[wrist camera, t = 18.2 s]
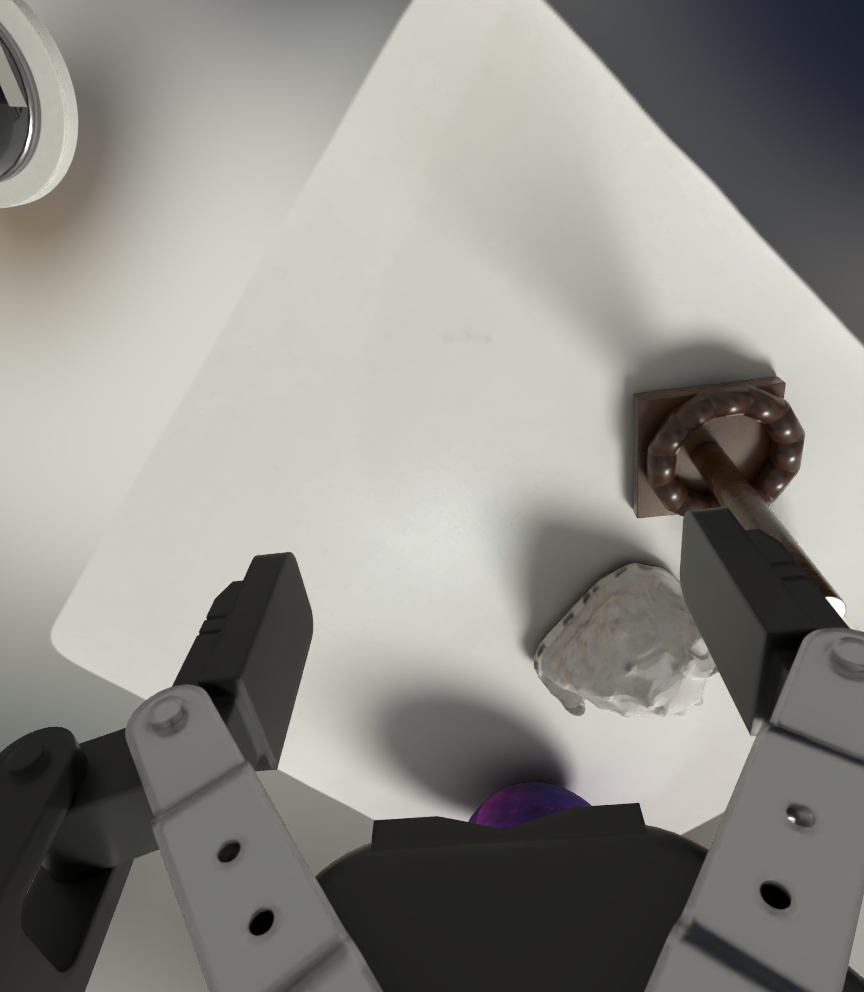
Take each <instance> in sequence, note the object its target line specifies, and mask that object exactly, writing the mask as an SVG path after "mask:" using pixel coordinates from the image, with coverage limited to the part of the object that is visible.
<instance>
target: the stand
mask: <svg viewBox="0 0 864 992" xmlns="http://www.w3.org/2000/svg"><path fill="white" fill-rule="evenodd" d="M740 385H752V386H754V387H757V388H759V389H761V390H764V391H766V392H769V393H771V394H773V395H776V396H778V397H780V398H783V399H784V391H785V382H784V381H782V380H781V379H780V378H779V377H772V378H763V379H755V380H746V381H738V382H730V383H721V384H713V385H704V386H696V387H688V388H679V389H671V390H662V391H654V392H646V393H637V394H634V471H633V510H634V513H635V515H636V517H637V518H645V517H655V516H665V515H676V514H675V513H673V512H670V511H668V510H667V509H666V508H665V507H664V505H663V504H662V503H661V501H660V500H659V498H658V497H657V496H656V494H655V493H654V491H653V490H652V489H651V487H650V486H649V484H648V482H647V450H648V445H649V443H650V442H651V440H652V438H653V437H654V435H655V434H656V432H657V430H658V429H659V427H660V426H661V424H662V423H663V421H664V419H665V418H666V416H667V415H668V414H669V413H670V412H671V411H672V410H674V409H675V408H677V407H679V406H680V405H682V404H683V403H685V402H687V401H688V400H690V399H691V398H693V397H695V396H696V395H698V394H699V393H701V392H703V391H705V390H708V389H715V388H723V387H731V386H740ZM771 443H772V438H771V437H770V435H769V433H768V432H767V430H766V428H765V427H764V425H763V423H761V422H759V421H757V420H754V419H752V418H749V417H747V416H744V415H734V416H725V417H717V418H714V419H712V420H711V421H709V422H707V423H706V424H704V425H703V426H701V427H699V428H698V429H696V430H694V431H693V432H691V433H690V435H689V436H688V438H687V439H686V441H685V442H684V444H683V445H682V447H681V448H680V450H679V451H678V453H677V459H676V475H677V477H678V478H679V479H680V481H681V482H682V484H683V485H684V487H685V488H686V489H687V490H690V491H692V492H695V493H698V494H700V495H703V496H715V497H716V498H717V500H718V501H719V503H720V504H721V506H722V507H728V508H729V509H730V510H731V512H732V513H733V514H734V516H735V517H736V518H737V520H738V521H739V523H740V524H741V525H742V527H743V528H744V529H745V530H750V529H760V530H762V531H763V532H765V533H767V534H768V535H770V536H772V537H773V538H775V539H777V540H778V541H780V542H782V544H783V545H784V546H785V547H786V549H787V550H788V551H789V552H790V554H791V555H792V556H793V557H794V559H795V560H796V564H799V565H800V566H801V567H802V569H803V570H804V571H805V572H806V574H807V577H808V579H809V578H810V579H811V580H812V581H813V583H814V584H815V585H816V586H817V588H818V589H819V590H820V591H821V593H822V594H823V595H824V596H825V598H826V599H827V600H828V601H829V603H830V604H831V605H832V606H833V608H834V609H835V610H836V611H837V613H838V614H839V615H840V617H841V618H843V617H844V615H845V612H846V605H845V603H844V601H843V600H842V599H841V598H840V596H839V595H838V594H837V593H836V591H835V590H834V589H833V588H832V586H831V585H830V584H829V582H828V581H827V580H826V579H825V577H824V576H823V575H822V574H821V572H820V571H819V570H818V569H817V567H816V566H815V565H814V564H813V562H812V561H811V560H810V559H809V557H808V556H807V555H806V554H805V552H804V551H803V550H802V548H801V547H800V546H799V545H798V543H797V542H796V541H795V540H794V538H793V537H792V536H791V535H790V533H789V532H788V531H787V530H786V528H785V527H784V526H783V525H782V523H781V522H780V521H779V520H778V518H777V517H776V516H775V514H774V513H773V512H772V511H771V509H770V508H769V507H768V505H770V504H768V505H767V504H766V503H765V502H764V501H763V499H762V498H761V497H760V496H759V494H758V493H757V492H756V491H755V489H754V488H753V487H752V486H751V484H750V483H751V482H753V481H754V480H755V479H756V477H757V476H758V475H759V474H760V472H761V471H762V470H763V468H764V467H765V466H766V464H767V463H768V462H769V459H770V451H771Z"/></svg>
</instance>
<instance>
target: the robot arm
mask: <svg viewBox="0 0 864 992" xmlns="http://www.w3.org/2000/svg"><path fill="white" fill-rule="evenodd" d="M40 133H41V105H40V99H39V94H38V90H37V86H36V83H35V80H34V77H33V74H32V72H31V69H30V67H29V65H28V63H27V61H26V59H25V57H24V55H23V53H22V51H21V50H20V48H19V46H18V44H17V43H16V42H15V40H14V39H13V37H12V36H11V34H10V33H9V32H8V31H7V29H6V28H5V27H4V26H3V25H2V23H1V22H0V183H1V182H4V181H7V180H9V179H11V178H13V177H15V176H16V175H17V174H19V173H20V172H21V171H22V170H23V169H24V168H25V167H26V166H27V165H28V163H29V162H30V161H31V159H32V157H33V155H34V153H35V151H36V149H37V146H38V142H39V138H40ZM680 583H681V590H682V594H683V598H684V601H685V603H686V606H687V608H688V610H689V612H690V614H691V616H692V618H693V620H694V622H695V624H696V626H697V628H698V630H699V632H700V634H701V636H702V638H703V640H704V642H705V644H706V646H707V648H708V650H709V652H710V654H711V656H712V658H713V660H714V663H715V665H716V667H717V669H718V671H719V673H720V675H721V677H722V679H723V681H724V683H725V685H726V687H727V689H728V691H729V693H730V695H731V697H732V699H733V701H734V703H735V705H736V707H737V709H738V711H739V713H740V715H741V717H742V719H743V721H744V723H745V725H746V727H747V729H748V731H749V734H750V736H756V738H755V741H754V743H753V746H752V748H751V750H750V753H749V755H748V758H747V760H746V762H745V765H744V767H743V770H742V772H741V774H740V777H739V779H738V782H737V784H736V786H735V789H734V791H733V794H732V796H731V798H730V801H729V803H728V806H727V808H726V810H725V813H724V815H723V818H722V820H721V822H720V825H719V827H718V829H717V832H716V834H715V837H714V839H713V841H712V844H711V846H710V849H709V850H708V849H707V848H705V847H703V846H701V845H700V844H698V843H696V842H694V841H692V840H690V839H688V838H686V837H683V836H681V835H679V834H676V833H674V832H671V831H667V830H664V829H661V828H657V827H653V826H648V825H645V822H644V819H643V815H642V812H641V808H640V804H639V803H631V804H616V805H601V806H586V807H572V808H569V809H566V810H563V811H560V812H556V813H553V814H550V815H547V816H544V817H541V818H538V819H535V820H532V821H529V822H526V823H523V824H520V825H517V826H514V827H510V828H496V827H491V826H486V825H481V824H475V823H470V822H465V821H459V820H454V819H449V818H444V817H438V816H434V817H419V818H404V819H389V820H374V825H373V833H372V843H369V844H366V845H363V846H361V847H359V848H356V849H355V850H353V851H350V852H348V853H346V854H345V855H343V856H341V857H340V858H338V859H337V860H335V861H333V862H332V863H331V864H330V865H328V866H327V867H326V868H325V869H323V870H322V871H321V872H319V873H318V874H317V875H316V876H314V874H313V873H312V871H311V869H310V867H309V866H308V864H307V862H306V860H305V858H304V857H303V855H302V853H301V851H300V850H299V848H298V846H297V844H296V843H295V841H294V839H293V837H292V836H291V834H290V832H289V831H288V829H287V827H286V825H285V823H284V822H283V820H282V818H281V816H280V815H279V813H278V811H277V809H276V808H275V806H274V804H273V802H272V801H271V799H270V797H269V795H268V794H267V792H266V790H265V788H264V787H263V785H262V783H261V781H260V780H259V778H258V776H257V774H256V773H255V772H256V771H264V770H277V768H278V764H279V760H280V756H281V753H282V749H283V745H284V741H285V738H286V734H287V730H288V726H289V723H290V719H291V715H292V711H293V708H294V704H295V700H296V696H297V693H298V689H299V685H300V681H301V678H302V674H303V670H304V666H305V662H306V659H307V655H308V651H309V647H310V644H311V640H312V635H313V616H312V610H311V606H310V603H309V600H308V597H307V593H306V590H305V587H304V584H303V580H302V577H301V574H300V571H299V567H298V564H297V561H296V558H295V556H294V555H293V553H291V552H285V553H276V554H267V555H257V556H255V557H254V558H253V560H252V562H251V564H250V566H249V569H248V571H247V573H246V575H245V578H244V580H243V581H234V582H232V583H231V584H230V585H229V586H228V587H227V588H226V589H225V590H224V591H223V592H222V593H221V594H220V595H219V596H217V597H216V598H215V600H214V602H213V604H212V606H211V608H210V610H209V612H208V615H207V620H205V621H204V623H203V625H202V627H201V629H200V631H199V635H198V636H197V637H196V639H195V641H194V643H193V645H192V647H191V649H190V651H189V653H188V655H187V657H186V659H185V661H184V663H183V665H182V667H181V669H180V671H179V673H178V675H177V678H176V680H175V682H174V684H173V686H172V687H170V688H167V689H165V690H163V691H160V692H158V693H156V694H155V695H153V696H151V697H150V698H149V699H147V700H146V701H145V702H143V703H142V704H141V705H140V706H139V707H138V708H137V709H136V711H135V712H134V713H133V714H132V716H131V717H130V719H129V721H128V723H127V726H126V728H124V729H121V730H119V731H116V732H113V733H110V734H107V735H104V736H101V737H98V738H95V739H92V740H89V741H86V742H83V743H80V744H79V743H78V742H77V740H76V739H75V737H74V735H73V734H72V733H71V732H70V731H69V730H68V729H65V728H62V727H48V728H43V729H40V730H36V731H34V732H31V733H29V734H27V735H25V736H23V737H21V738H19V739H18V740H16V741H15V742H13V743H12V744H10V745H9V746H8V747H6V748H5V749H4V750H3V751H2V752H1V753H0V992H85V989H86V987H87V984H88V981H89V979H90V976H91V974H92V971H93V968H94V965H95V963H96V960H97V957H98V955H99V952H100V949H101V946H102V944H103V941H104V939H105V936H106V933H107V930H108V928H109V925H110V922H111V920H112V917H113V914H114V912H115V909H116V906H117V903H118V901H119V898H120V896H121V893H122V890H123V887H124V885H125V882H126V879H127V876H128V874H129V871H130V869H131V866H132V863H133V861H134V859H135V858H137V857H140V856H142V855H145V854H147V853H150V852H153V851H156V850H158V849H159V850H160V852H161V855H162V858H163V861H164V864H165V867H166V870H167V872H168V875H169V878H170V881H171V884H172V887H173V889H174V892H175V895H176V898H177V901H178V904H179V907H180V909H181V912H182V915H183V918H184V921H185V924H186V926H187V929H188V932H189V935H190V938H191V941H192V943H193V946H194V949H195V952H196V955H197V958H198V961H199V963H200V966H201V969H202V972H203V975H204V978H205V980H206V983H207V986H208V989H209V992H864V978H863V977H861V976H860V975H859V974H858V973H857V972H855V971H854V970H853V969H852V968H851V967H850V966H848V964H849V959H850V954H851V950H852V945H853V941H854V936H855V932H856V927H857V922H858V918H859V913H860V909H861V904H862V899H863V895H864V632H862V631H858V630H854V629H850V628H849V627H848V625H847V624H846V623H845V622H844V620H843V619H842V618H841V617H840V615H839V614H838V613H837V611H836V610H835V609H834V608H833V606H832V605H831V604H830V603H829V601H828V600H827V599H826V598H825V596H824V595H823V594H822V593H821V591H820V590H819V589H818V588H817V586H816V585H815V584H814V583H813V581H812V580H811V579H810V578H809V579H808V577H807V574H806V572H805V571H804V570H803V569H802V567H801V566H800V565H799V564H796V560H795V559H794V557H793V556H792V555H791V554H790V552H789V551H788V550H787V549H786V547H785V546H784V545H783V544H782V542H780V541H778V540H777V539H775V538H773V537H772V536H770V535H768V534H767V533H765V532H763V531H762V530H760V529H750V530H745V529H744V528H743V527H742V525H741V524H740V523H739V521H738V520H737V518H736V517H735V516H734V514H733V513H732V512H731V510H730V509H729V508H728V507H717V508H708V509H699V510H689V511H686V513H685V515H684V519H683V532H682V548H681V563H680ZM40 865H41V866H40ZM39 867H40V868H39ZM38 869H39V870H38ZM37 871H38V872H37ZM36 873H37V874H36ZM35 875H36V876H35ZM34 877H35V878H34ZM33 879H34V880H33ZM32 881H33V882H32ZM31 883H32V884H31ZM30 885H31V886H30ZM29 887H30V888H29ZM28 889H29V890H28ZM27 891H28V892H27ZM26 893H27V894H26Z"/></svg>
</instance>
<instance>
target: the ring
mask: <svg viewBox="0 0 864 992" xmlns="http://www.w3.org/2000/svg"><path fill="white" fill-rule="evenodd" d="M734 415H744V416H747V417H749V418H752V419H754V420H757V421H759V422H761V423H763V425H764V427H765V428H766V430H767V432H768V433H769V435H770V437H771V438H772V443H771V451H770V459H769V462H768V463H767V464H766V466H765V467H764V468H763V470H762V471H761V472H760V474H759V475H758V476H757V477H756V479H755V480H754V481H753V482H751V483H750V484H751V486H752V487H753V488H754V489H755V491H756V492H757V493H758V494H759V496H760V497H761V498H762V499H763V501H764V502H765V503H766V504H767V505H768V504H770V503H772V502H774V501H775V500H776V499H777V498H778V497H779V496H780V494H781V493H782V492H783V490H784V489H785V488H786V487H787V485H788V484H789V483H790V482H791V480H792V479H793V478H794V476H795V475H796V474H797V473H798V471H799V469H800V465H801V458H802V451H803V445H804V438H805V433H804V430H803V428H802V426H801V424H800V423H799V421H798V419H797V417H796V415H795V414H794V412H793V410H792V408H791V407H790V405H789V403H788V402H787V401H786V400H784V399H783V398H780V397H778V396H776V395H773V394H771V393H769V392H766V391H764V390H761V389H759V388H757V387H754V386H752V385H740V386H731V387H723V388H715V389H708V390H705V391H703V392H701V393H699V394H698V395H696V396H695V397H693V398H691V399H690V400H688V401H687V402H685V403H683V404H682V405H680V406H679V407H677V408H675V409H674V410H672V411H671V412H670V413H669V414H668V415H667V416H666V418H665V419H664V421H663V423H662V424H661V426H660V427H659V429H658V430H657V432H656V434H655V435H654V437H653V438H652V440H651V442H650V443H649V445H648V450H647V482H648V484H649V486H650V487H651V489H652V490H653V491H654V493H655V494H656V496H657V497H658V498H659V500H660V501H661V503H662V504H663V505H664V507H665V508H666V509H667V510H668V511H670V512H673V513H675V514H678V515H680V516H683V517H684V515H685V513H686V511H689V510H699V509H708V508H717V507H722V506H721V504H720V503H719V501H718V500H717V498H716V497H715V496H703V495H700V494H698V493H695V492H692V491H690V490H687V489H686V488H685V487H684V485H683V484H682V482H681V481H680V479H679V478H678V477H677V475H676V459H677V453H678V451H679V450H680V448H681V447H682V445H683V444H684V442H685V441H686V439H687V438H688V436H689V435H690V433H691V432H693V431H694V430H696V429H698V428H699V427H701V426H703V425H704V424H706V423H707V422H709V421H711V420H712V419H714V418H717V417H725V416H734Z"/></svg>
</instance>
